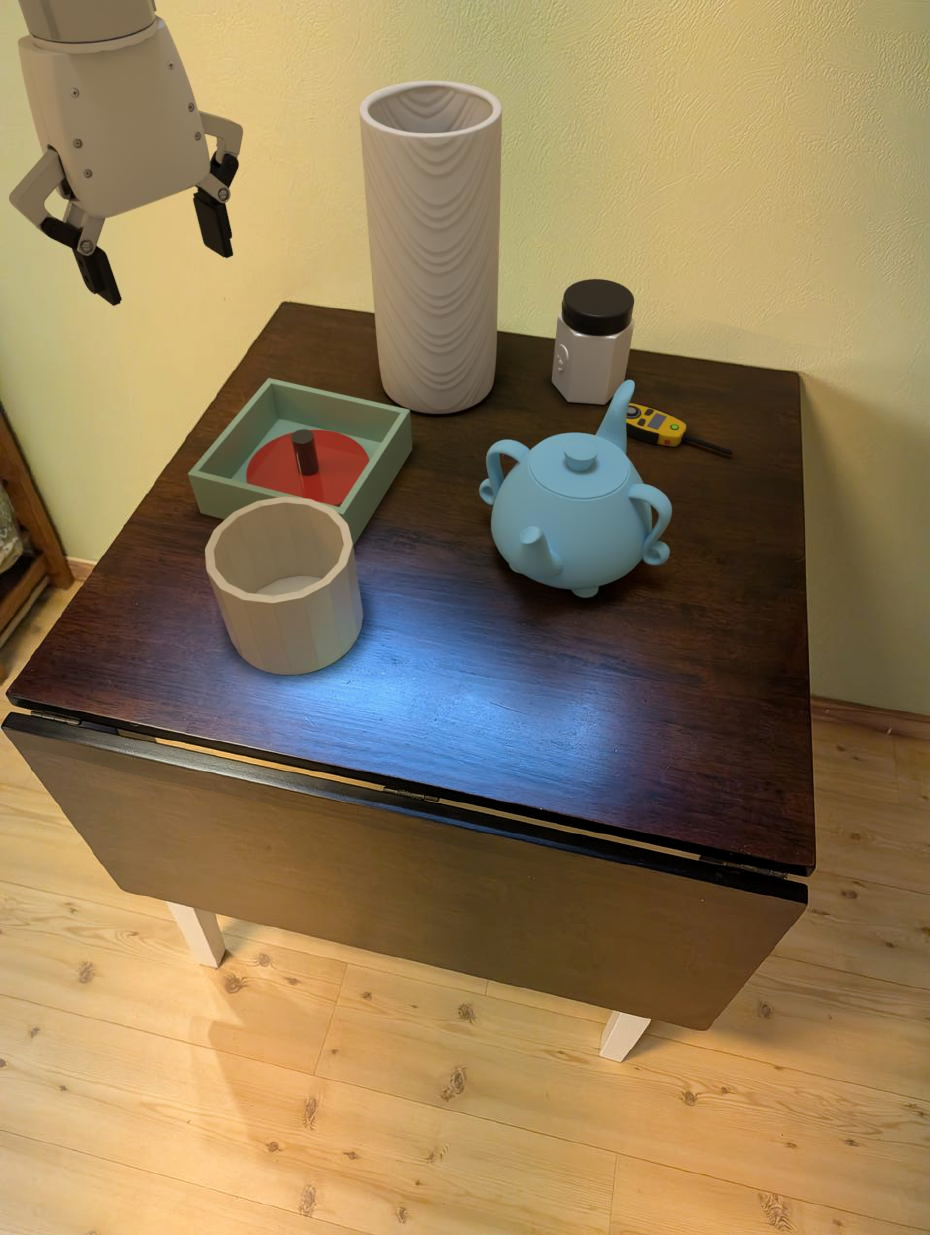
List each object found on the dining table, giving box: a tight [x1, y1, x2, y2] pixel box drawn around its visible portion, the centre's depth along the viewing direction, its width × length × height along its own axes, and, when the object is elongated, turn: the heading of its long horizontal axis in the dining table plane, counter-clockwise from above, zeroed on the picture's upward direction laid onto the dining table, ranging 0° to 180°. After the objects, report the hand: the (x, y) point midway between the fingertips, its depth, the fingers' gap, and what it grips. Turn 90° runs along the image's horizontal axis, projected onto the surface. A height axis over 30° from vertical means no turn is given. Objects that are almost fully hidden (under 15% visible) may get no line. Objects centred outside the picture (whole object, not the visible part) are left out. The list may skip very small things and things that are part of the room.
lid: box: [246, 429, 369, 507], centre depth 92 cm, size 14×14×6 cm
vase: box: [358, 80, 503, 415], centre depth 93 cm, size 14×14×32 cm
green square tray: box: [187, 377, 413, 547], centre depth 92 cm, size 18×18×6 cm
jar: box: [551, 278, 635, 406], centre depth 101 cm, size 9×8×12 cm
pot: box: [204, 496, 364, 676], centre depth 77 cm, size 13×13×10 cm
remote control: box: [626, 402, 734, 456], centre depth 98 cm, size 5×2×15 cm
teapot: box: [478, 379, 673, 599], centre depth 82 cm, size 16×20×14 cm
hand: (165, 273), depth 64 cm, fingers open, 9 cm apart
